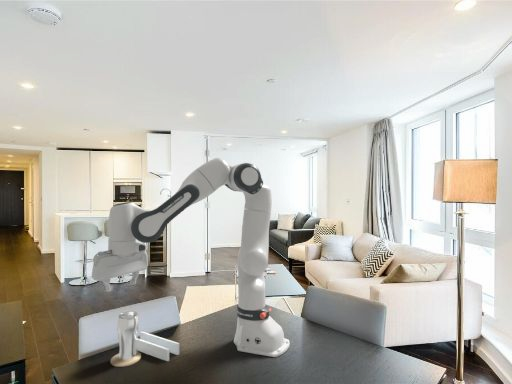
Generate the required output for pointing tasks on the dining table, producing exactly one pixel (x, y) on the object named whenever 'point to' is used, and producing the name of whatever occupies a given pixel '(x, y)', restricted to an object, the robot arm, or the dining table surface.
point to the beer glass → (127, 335)
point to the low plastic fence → (156, 346)
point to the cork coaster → (118, 363)
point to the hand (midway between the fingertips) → (121, 287)
